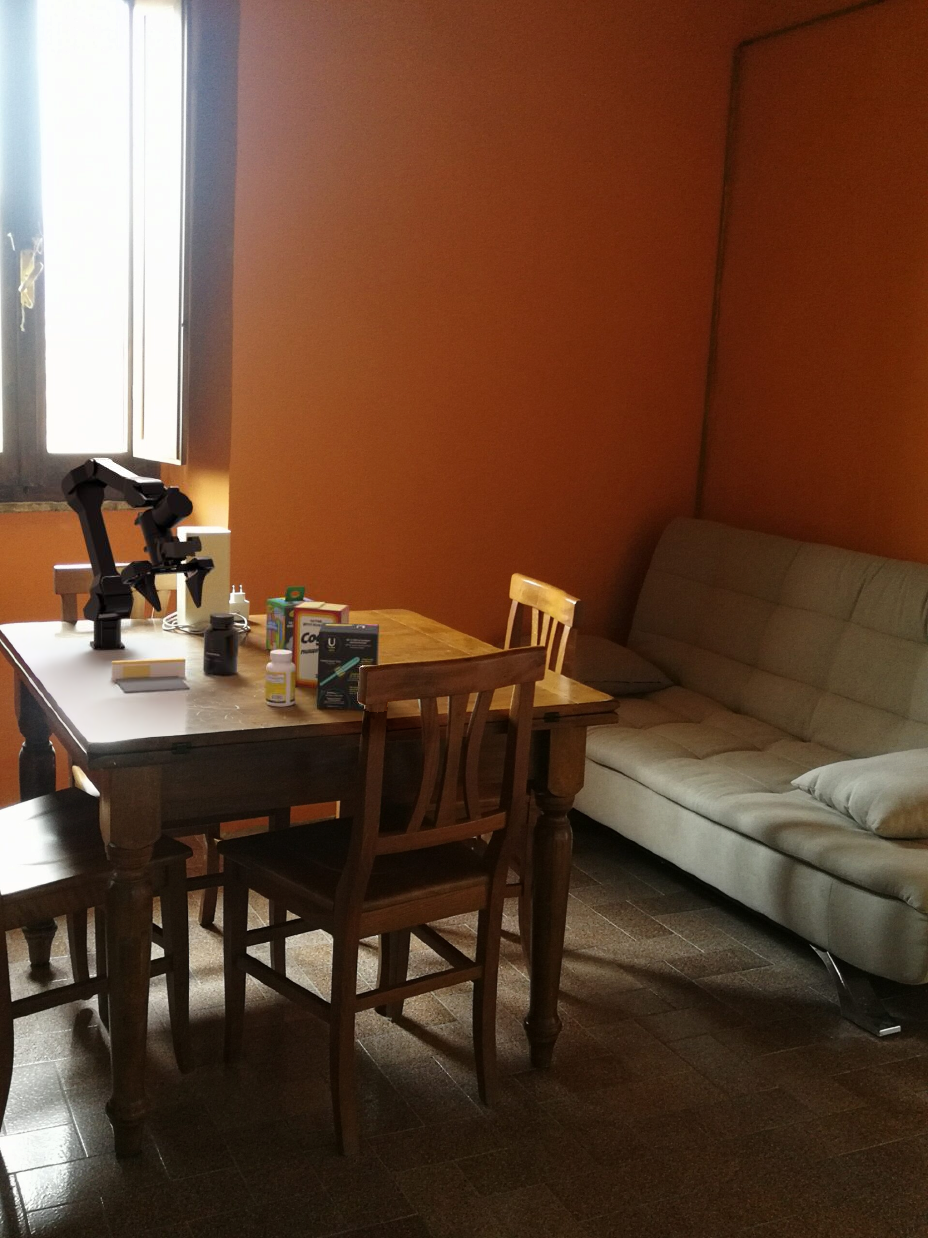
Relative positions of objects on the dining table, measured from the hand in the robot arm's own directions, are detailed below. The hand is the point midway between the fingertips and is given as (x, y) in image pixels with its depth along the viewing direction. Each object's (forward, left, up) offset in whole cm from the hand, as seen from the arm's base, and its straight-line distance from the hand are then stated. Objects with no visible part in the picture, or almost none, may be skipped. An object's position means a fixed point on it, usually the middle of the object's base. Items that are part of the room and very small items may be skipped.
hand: (179, 609), depth 236 cm
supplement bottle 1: (+3, +8, -13) cm, 15 cm away
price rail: (+4, -7, -13) cm, 15 cm away
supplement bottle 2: (+29, +12, -13) cm, 34 cm away
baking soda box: (+16, +24, -13) cm, 32 cm away
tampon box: (+32, +24, -13) cm, 42 cm away
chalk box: (-14, +28, -13) cm, 34 cm away
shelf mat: (+10, -7, -13) cm, 18 cm away
